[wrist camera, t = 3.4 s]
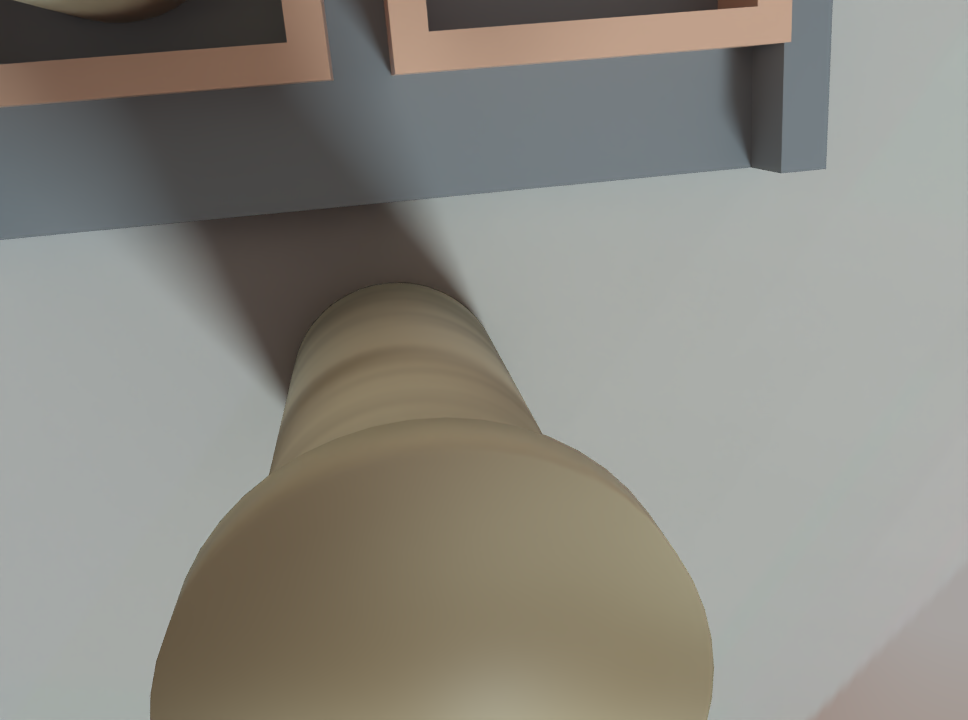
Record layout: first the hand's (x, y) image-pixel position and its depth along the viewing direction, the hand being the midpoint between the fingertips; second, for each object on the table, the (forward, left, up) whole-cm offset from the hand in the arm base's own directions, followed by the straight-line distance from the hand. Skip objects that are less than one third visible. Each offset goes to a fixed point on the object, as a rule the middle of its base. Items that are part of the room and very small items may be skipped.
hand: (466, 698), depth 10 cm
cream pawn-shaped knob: (0, 0, -12) cm, 12 cm away
